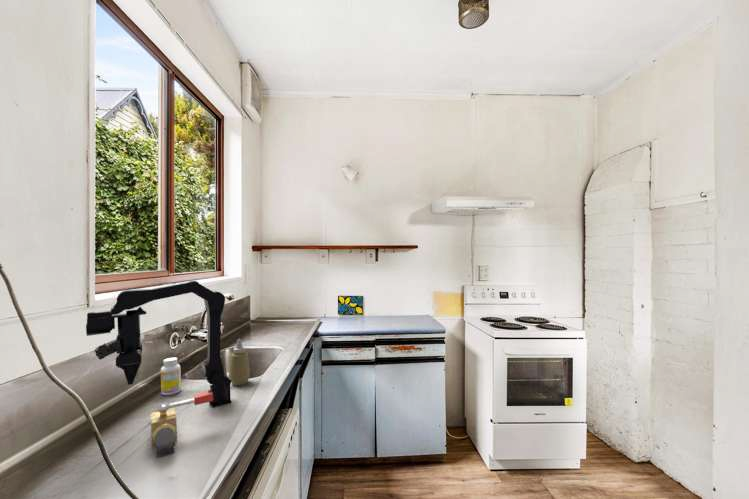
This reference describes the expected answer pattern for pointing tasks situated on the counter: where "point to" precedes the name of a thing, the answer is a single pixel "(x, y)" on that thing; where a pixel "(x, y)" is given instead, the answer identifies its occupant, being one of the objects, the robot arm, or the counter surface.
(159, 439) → the valve body
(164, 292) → the robot arm
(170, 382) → the supplement bottle
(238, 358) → the squeeze bottle
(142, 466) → the counter surface
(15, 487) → the counter surface
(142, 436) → the counter surface
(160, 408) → the valve lever
